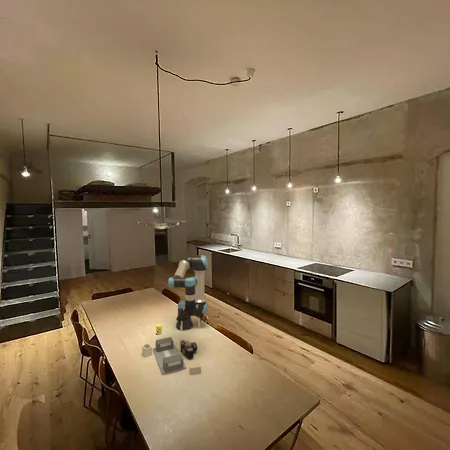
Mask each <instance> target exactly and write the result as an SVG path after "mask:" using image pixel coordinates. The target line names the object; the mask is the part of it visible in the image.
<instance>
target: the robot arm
mask: <svg viewBox="0 0 450 450" xmlns="http://www.w3.org/2000/svg"><path fill="white" fill-rule="evenodd" d="M207 257H208V256H206V255H199V254H198V255H187V256H185V257H183V258H182V259H181V260H180V261H179V263H178V267H177V269H176V271H175V273H174V276H173V277H169V278H168V281H167V285H168V288H173V289H175V288H177V289H178V288H179V289H181V288H182V289H183V288H184V299H185V300H181V301H179V302H178V304H177V317H176V319H175V320H176V323H175V328H176V329H177V330H178V331H187V330H190V329H192V328H193V327H194V324H193V320H192V317H197V326H198V328H200V327H201V323H202V319H203V317H205V316H206V315H207V311H208V304H209V303H208V302H207V300H206V299H205V276H206V275H205V272H206V271H207V269H209V262H208V258H207ZM188 269H193V272H194V276H190V277H185V276H186V273H187V270H188Z"/></svg>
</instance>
